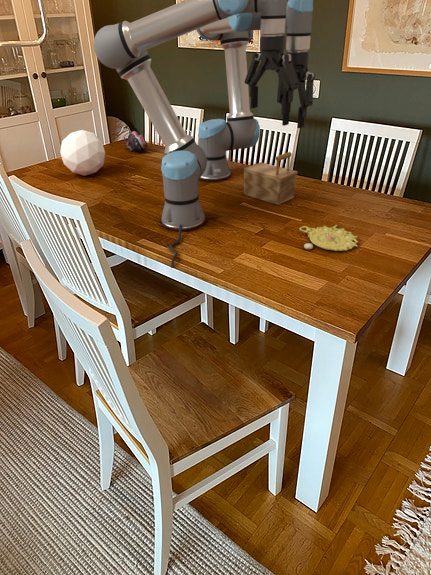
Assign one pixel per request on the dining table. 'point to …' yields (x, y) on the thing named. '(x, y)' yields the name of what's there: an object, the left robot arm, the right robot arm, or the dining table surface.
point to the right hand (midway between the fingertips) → (292, 126)
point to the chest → (269, 188)
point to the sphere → (82, 152)
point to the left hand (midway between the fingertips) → (269, 110)
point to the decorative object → (330, 238)
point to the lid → (273, 169)
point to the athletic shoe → (135, 142)
